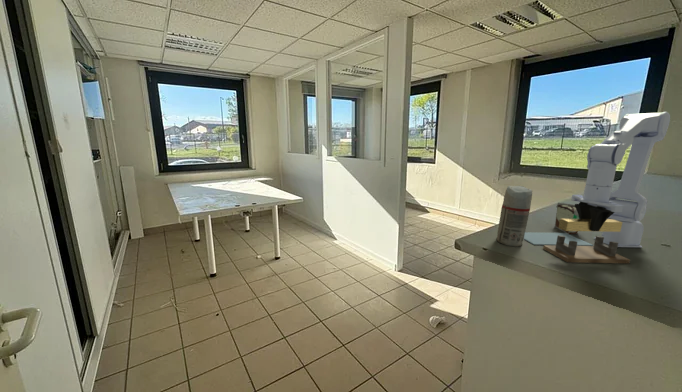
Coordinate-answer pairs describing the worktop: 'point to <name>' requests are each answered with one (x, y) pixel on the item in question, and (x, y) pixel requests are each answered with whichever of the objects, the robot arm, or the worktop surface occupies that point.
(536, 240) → the rubber mat
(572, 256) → the hook stand
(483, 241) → the worktop surface
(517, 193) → the spray can
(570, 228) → the brass rail
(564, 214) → the food container
